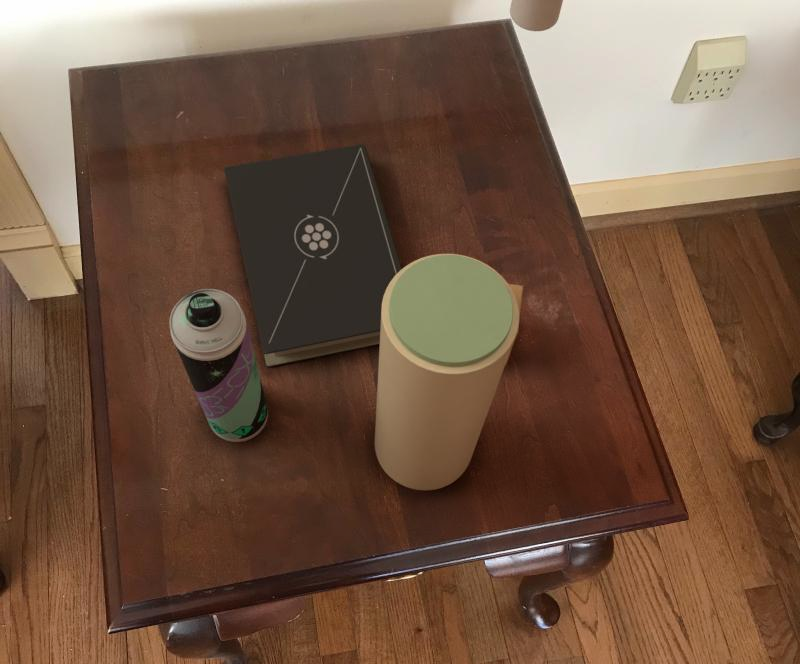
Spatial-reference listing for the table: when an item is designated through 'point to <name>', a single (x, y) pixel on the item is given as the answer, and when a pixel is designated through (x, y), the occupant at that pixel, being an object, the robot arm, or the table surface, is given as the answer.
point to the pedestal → (431, 405)
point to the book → (313, 251)
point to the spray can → (220, 362)
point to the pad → (450, 310)
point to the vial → (535, 13)
